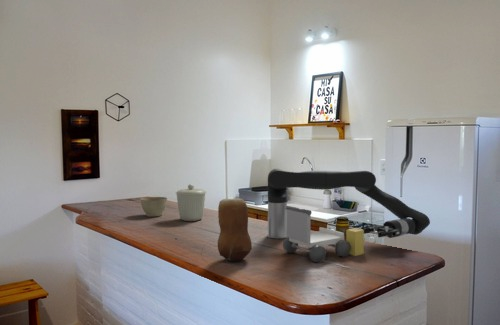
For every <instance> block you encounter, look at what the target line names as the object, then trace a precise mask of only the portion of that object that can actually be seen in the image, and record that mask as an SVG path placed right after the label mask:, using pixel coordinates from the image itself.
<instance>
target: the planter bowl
mask: <svg viewBox="0 0 500 325" xmlns="http://www.w3.org/2000/svg"><path fill="white" fill-rule="evenodd" d="M167 202H168V197H165V196H151V197H142V198H140V205H141V208H142V210H143V211H144V213H145V214H146V217H148V218H149V217H151V218H152V217H161V216H163V213H164V211H165V209H166V207H167Z"/></svg>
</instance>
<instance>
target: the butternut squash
mask: <svg viewBox="0 0 500 325" xmlns="http://www.w3.org/2000/svg"><path fill="white" fill-rule="evenodd" d="M217 209H218V211H217V212H218V216H217V217H218V225H219V228H220V230H219V231H220V232H219V236H218V239H217V250H218V253H219V256H221V257H223V258H224V259H225V260H227V261H231V262H237V263H238V262H241V261H242V260H245V258H246V257H247V256H248V255H249V254H250V252H251V251H252V245H253V244H252V239H251V236H250V234H249V228H248V227H249V211H248V206H247V203H246V201H245V199H243V198H224V199H221V200H219V203H218V208H217Z"/></svg>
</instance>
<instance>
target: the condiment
mask: <svg viewBox="0 0 500 325" xmlns="http://www.w3.org/2000/svg"><path fill="white" fill-rule="evenodd" d="M347 229H350V223H349V218H348V217H347V216H338V217H336V223H335V231H338V232H342V233H344V241H346V230H347ZM334 244H335V245H336V244H337V243H334Z"/></svg>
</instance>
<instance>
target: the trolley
mask: <svg viewBox="0 0 500 325" xmlns="http://www.w3.org/2000/svg"><path fill="white" fill-rule="evenodd" d="M286 210H287V237H285V238H284V240H283V242H282V248H283V250H284V251H285V252H286V253H289V254H293V253H295V252H296V251H297V250H300V251H302V252H303V251H304V252H306V253H309V254H308V255H309V258H310V260H311V261H312V262H315V263H318V264H319V263H321V262H324V260H325V258H326V255H327V252H326V248H325V247H324V246H328V247H331V248H334V249H335V250H334V251H335V253H336V255H337V256H340V257H343V258H346V257H347V256H349V255H350V254H349V253H350V250H351V245H350V243H349V242H347V241H344V233H342V232H338V231H336V230H334V229H330V228H326V227H321V226H319V230H318V231H317V230H316V231H311V215H312V210H309V209H305V208H300V207H296V206H295V207H294V206H291V205H287V206H286ZM334 243H337V244H334ZM300 245H301V246H300ZM303 246H304V247H303ZM305 247H307V248H305ZM309 248H310V249H309Z"/></svg>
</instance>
